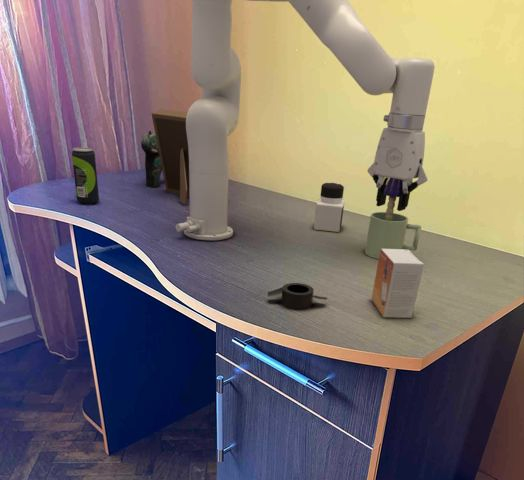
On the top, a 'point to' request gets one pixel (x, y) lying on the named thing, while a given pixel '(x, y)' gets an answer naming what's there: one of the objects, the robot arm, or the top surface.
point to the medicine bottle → (329, 208)
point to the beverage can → (85, 175)
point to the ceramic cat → (151, 159)
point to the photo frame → (173, 150)
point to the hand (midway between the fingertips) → (390, 206)
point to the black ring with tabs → (295, 295)
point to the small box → (396, 283)
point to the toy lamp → (392, 195)
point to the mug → (389, 234)
